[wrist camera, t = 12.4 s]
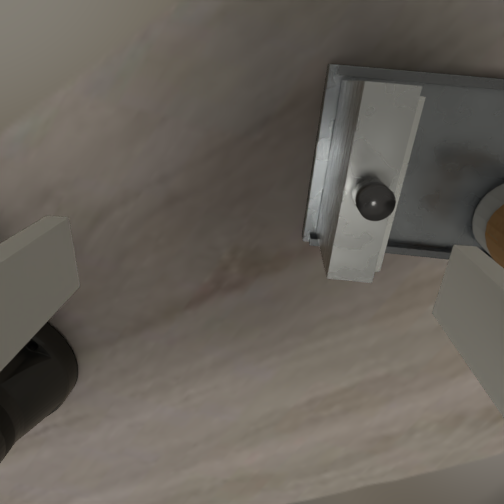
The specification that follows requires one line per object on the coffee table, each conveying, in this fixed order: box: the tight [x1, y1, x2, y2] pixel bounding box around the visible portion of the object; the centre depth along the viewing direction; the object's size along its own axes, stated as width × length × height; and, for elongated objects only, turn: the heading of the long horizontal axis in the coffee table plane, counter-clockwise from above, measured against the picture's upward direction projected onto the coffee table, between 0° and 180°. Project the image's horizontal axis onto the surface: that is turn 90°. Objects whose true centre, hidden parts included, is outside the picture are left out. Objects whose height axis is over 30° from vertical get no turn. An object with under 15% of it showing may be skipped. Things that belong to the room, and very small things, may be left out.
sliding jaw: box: [316, 80, 426, 283], centre depth 25 cm, size 4×12×10 cm, turn 175°
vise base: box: [302, 64, 504, 261], centre depth 26 cm, size 26×14×10 cm, turn 85°
